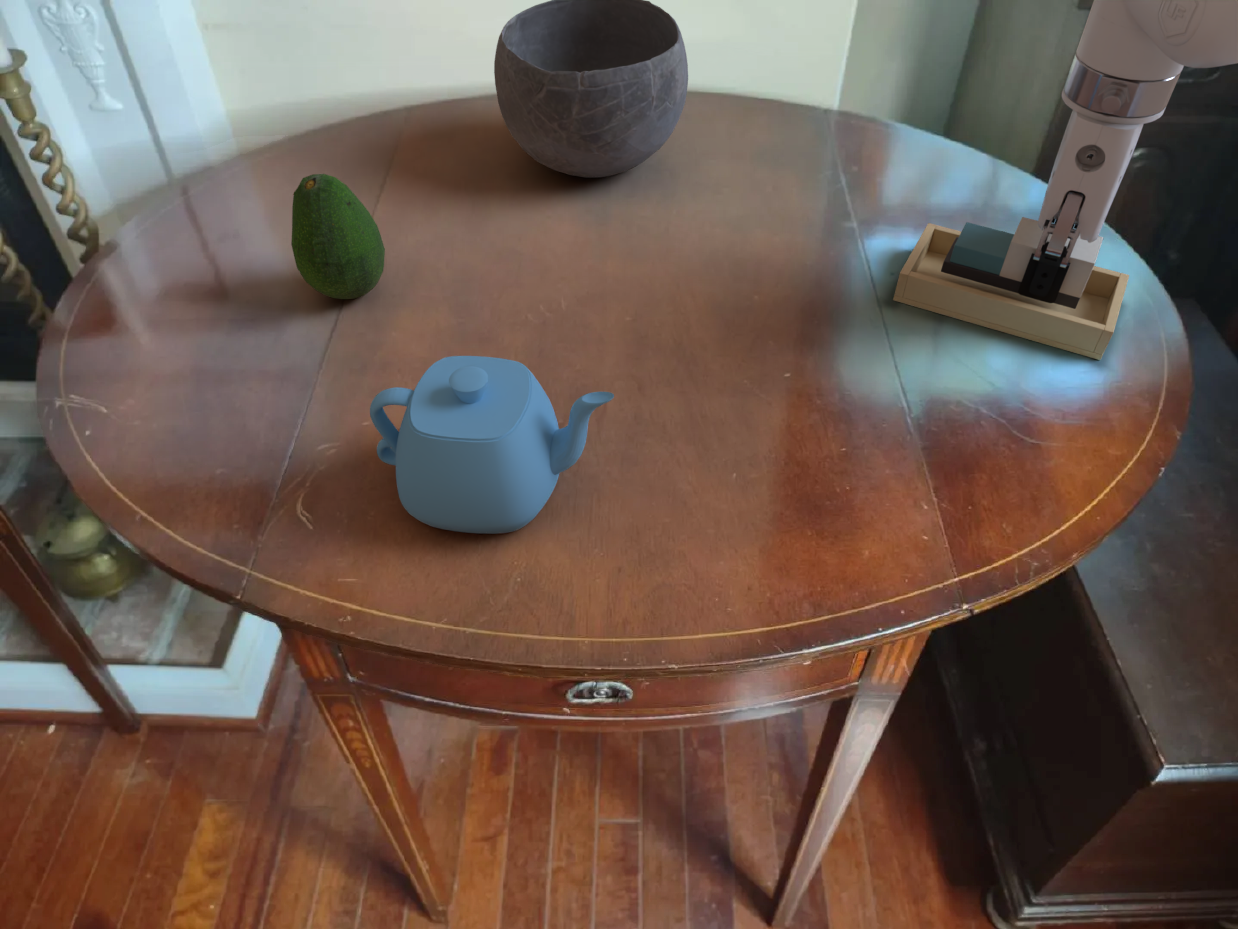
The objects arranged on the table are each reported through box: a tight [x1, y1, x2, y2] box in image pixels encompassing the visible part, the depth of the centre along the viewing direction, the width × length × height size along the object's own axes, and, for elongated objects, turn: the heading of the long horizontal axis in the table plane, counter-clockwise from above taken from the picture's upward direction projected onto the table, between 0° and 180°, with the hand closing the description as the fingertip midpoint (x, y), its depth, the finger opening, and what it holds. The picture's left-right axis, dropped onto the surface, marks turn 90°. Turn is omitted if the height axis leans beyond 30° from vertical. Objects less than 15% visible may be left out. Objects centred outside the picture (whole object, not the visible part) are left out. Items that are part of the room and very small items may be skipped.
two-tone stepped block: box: [941, 216, 1104, 309], centre depth 85 cm, size 12×5×5 cm, turn 62°
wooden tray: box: [892, 222, 1130, 361], centre depth 87 cm, size 19×10×3 cm, turn 62°
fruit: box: [290, 173, 386, 300], centre depth 85 cm, size 8×8×12 cm
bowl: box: [493, 0, 689, 178], centre depth 102 cm, size 20×20×15 cm
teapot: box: [369, 355, 615, 535], centre depth 69 cm, size 13×11×18 cm
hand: (1042, 279), depth 85 cm, fingers closed on two-tone stepped block, 4 cm apart
